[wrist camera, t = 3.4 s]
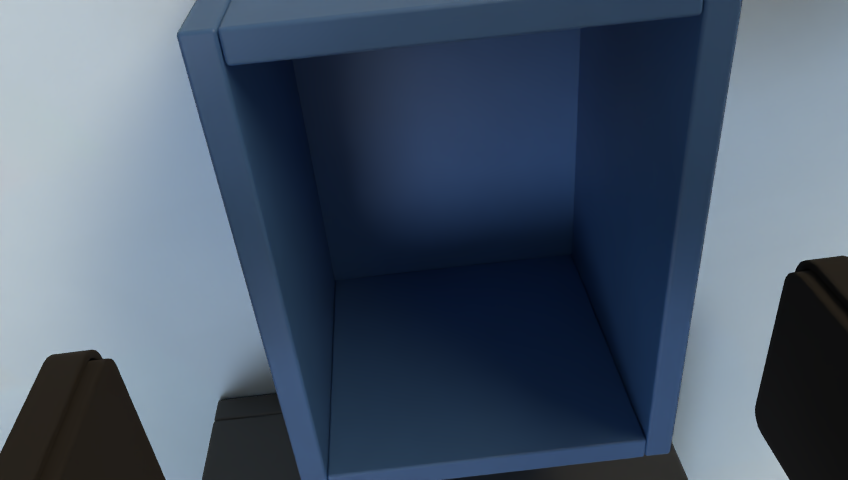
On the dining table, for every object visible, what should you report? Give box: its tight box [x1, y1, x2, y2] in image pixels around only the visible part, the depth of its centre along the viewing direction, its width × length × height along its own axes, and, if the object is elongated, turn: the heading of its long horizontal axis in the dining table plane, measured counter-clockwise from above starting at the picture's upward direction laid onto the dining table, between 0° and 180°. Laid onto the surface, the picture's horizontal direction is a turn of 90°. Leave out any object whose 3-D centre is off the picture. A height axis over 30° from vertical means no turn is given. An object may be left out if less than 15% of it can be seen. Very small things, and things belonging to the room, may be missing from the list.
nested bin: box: [177, 0, 742, 480], centre depth 14 cm, size 9×7×6 cm
